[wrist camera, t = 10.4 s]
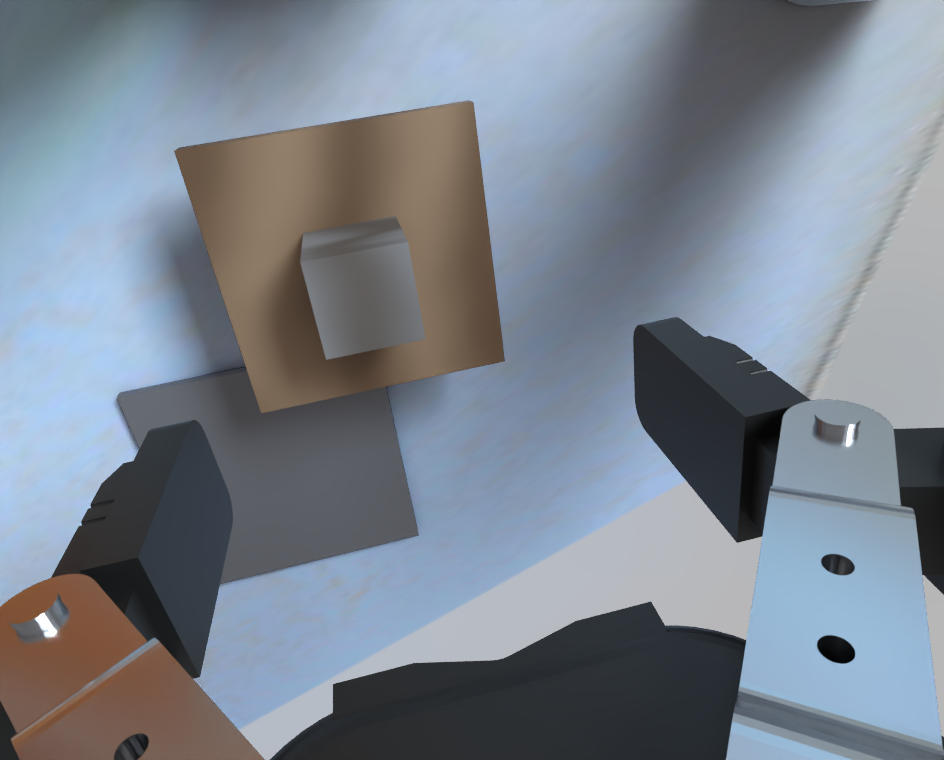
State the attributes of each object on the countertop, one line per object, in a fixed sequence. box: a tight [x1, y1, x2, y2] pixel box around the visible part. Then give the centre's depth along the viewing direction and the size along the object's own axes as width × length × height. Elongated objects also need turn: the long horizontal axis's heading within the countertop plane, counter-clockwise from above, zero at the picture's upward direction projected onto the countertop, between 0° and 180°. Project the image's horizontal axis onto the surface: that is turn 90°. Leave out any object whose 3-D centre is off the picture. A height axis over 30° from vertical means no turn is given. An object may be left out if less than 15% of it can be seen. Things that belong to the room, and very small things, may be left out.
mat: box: [117, 367, 419, 584], centre depth 39 cm, size 14×14×1 cm
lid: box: [174, 101, 505, 413], centre depth 27 cm, size 12×12×6 cm
